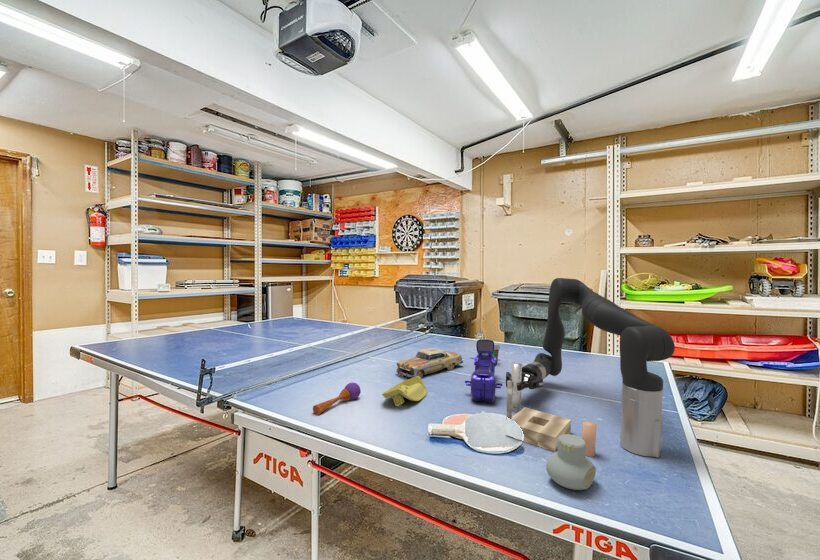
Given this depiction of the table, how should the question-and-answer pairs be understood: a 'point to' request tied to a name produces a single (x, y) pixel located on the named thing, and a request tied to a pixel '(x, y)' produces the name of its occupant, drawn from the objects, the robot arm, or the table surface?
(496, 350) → the food container
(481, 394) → the motorcycle
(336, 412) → the table surface
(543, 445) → the socket block
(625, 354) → the robot arm
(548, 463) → the air freshener
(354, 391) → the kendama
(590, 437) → the terracotta pin
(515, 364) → the steel pin
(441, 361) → the car
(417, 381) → the plastic component
